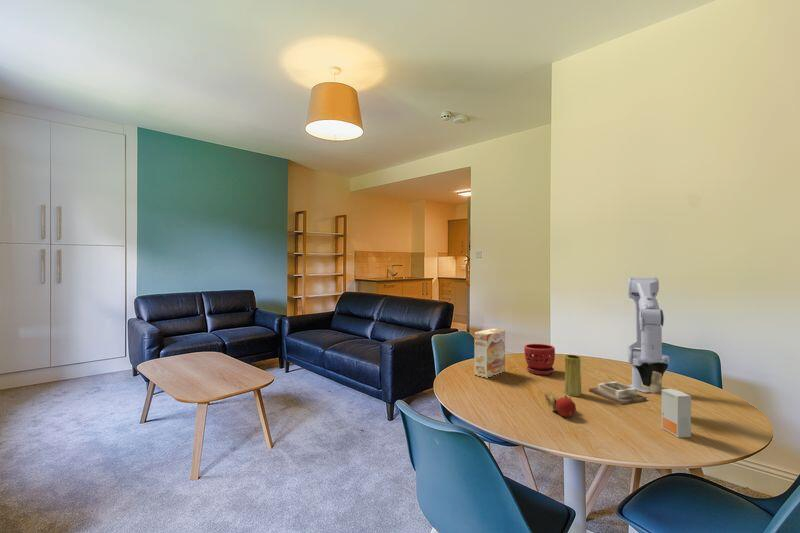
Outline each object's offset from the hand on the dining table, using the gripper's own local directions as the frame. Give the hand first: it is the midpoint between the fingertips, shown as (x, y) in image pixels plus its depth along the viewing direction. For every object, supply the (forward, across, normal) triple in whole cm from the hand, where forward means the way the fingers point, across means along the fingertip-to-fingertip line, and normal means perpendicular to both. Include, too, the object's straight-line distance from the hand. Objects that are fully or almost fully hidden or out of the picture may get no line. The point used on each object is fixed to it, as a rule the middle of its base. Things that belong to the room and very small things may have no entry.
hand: (651, 384), depth 121 cm
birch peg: (+2, 0, 0) cm, 2 cm away
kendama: (+9, -28, +12) cm, 32 cm away
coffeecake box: (+9, -29, +53) cm, 61 cm away
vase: (+9, -13, +21) cm, 26 cm away
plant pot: (+9, -6, +48) cm, 49 cm away
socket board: (+9, +1, +14) cm, 17 cm away
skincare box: (+9, -9, -14) cm, 19 cm away
